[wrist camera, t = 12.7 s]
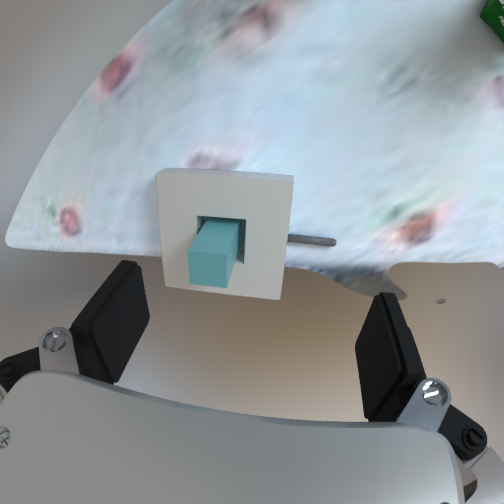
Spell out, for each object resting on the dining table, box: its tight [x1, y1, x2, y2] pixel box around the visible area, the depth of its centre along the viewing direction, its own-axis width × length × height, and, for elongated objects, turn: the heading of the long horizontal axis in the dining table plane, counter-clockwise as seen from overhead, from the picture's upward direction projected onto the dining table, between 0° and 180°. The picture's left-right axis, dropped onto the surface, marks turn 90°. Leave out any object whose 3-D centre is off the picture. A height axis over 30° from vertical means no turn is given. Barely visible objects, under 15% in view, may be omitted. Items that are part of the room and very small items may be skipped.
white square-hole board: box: [156, 168, 336, 300], centre depth 37 cm, size 22×16×3 cm
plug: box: [187, 216, 241, 288], centre depth 35 cm, size 4×4×10 cm
